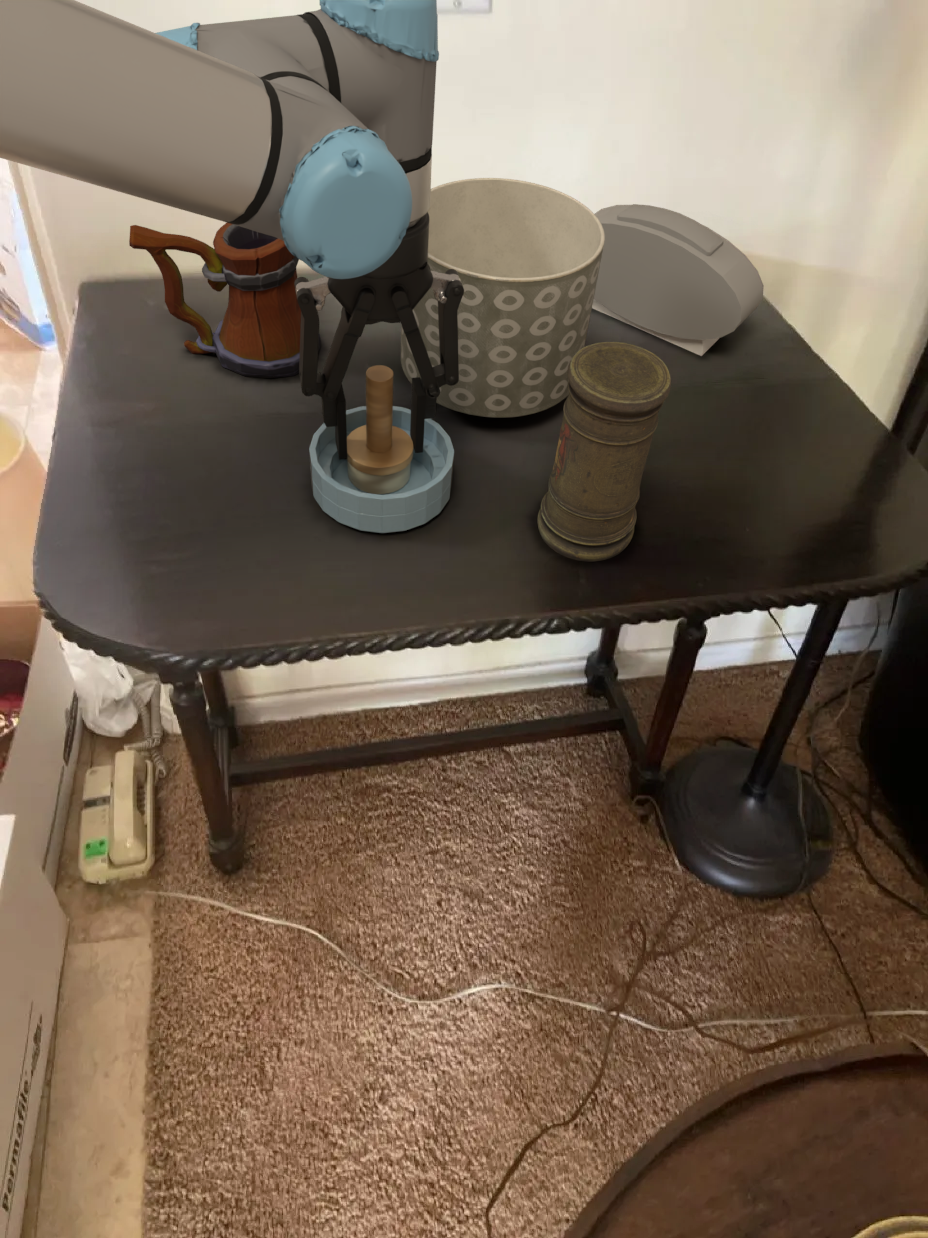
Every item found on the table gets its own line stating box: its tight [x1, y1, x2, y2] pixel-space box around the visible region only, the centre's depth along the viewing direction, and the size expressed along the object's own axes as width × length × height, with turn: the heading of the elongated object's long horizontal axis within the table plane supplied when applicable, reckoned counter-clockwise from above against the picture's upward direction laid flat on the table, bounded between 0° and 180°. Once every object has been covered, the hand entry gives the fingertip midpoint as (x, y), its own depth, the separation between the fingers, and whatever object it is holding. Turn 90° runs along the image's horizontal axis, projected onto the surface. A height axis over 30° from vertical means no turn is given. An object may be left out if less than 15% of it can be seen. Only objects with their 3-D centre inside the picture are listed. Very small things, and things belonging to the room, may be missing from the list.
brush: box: [347, 364, 413, 494], centre depth 89 cm, size 6×6×12 cm
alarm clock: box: [592, 203, 765, 357], centre depth 110 cm, size 23×6×13 cm, turn 54°
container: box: [536, 341, 672, 563], centre depth 85 cm, size 9×9×18 cm
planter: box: [400, 177, 605, 419], centre depth 98 cm, size 19×19×18 cm
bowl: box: [308, 405, 455, 534], centre depth 91 cm, size 13×13×5 cm
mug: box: [128, 222, 322, 379], centre depth 100 cm, size 18×12×15 cm, turn 98°
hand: (379, 446), depth 91 cm, fingers closed on brush, 6 cm apart
